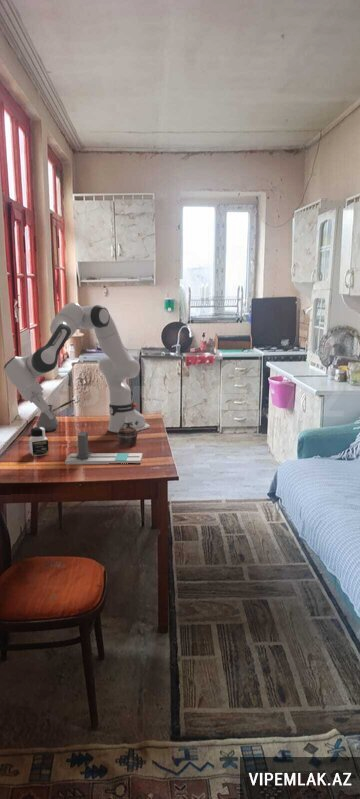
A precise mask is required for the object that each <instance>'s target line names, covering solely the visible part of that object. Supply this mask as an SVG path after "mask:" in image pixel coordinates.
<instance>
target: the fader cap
mask: <svg viewBox="0 0 360 799" xmlns="http://www.w3.org/2000/svg"><path fill="white" fill-rule="evenodd" d="M88 433H89V431H80V432H79V433H78V435H77V447H78V452H77V454H78V455H77V456H76V459H88V458H89V456H90V455H91V453H92V451H90V450H89V434H88Z"/></svg>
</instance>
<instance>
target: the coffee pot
mask: <svg viewBox="0 0 360 799" xmlns="http://www.w3.org/2000/svg"><path fill="white" fill-rule="evenodd" d="M72 402H74V403H77V401H76V400H75V399H74V398H73V399H71V400H69V401H67V402H64V403H63V404H62V405H59V406H57V407H56V408H54V409H53V407H54V404H48V406H49V407H50V409H49V411H50V412H51V414H52V415H53V417H54V418H53V419H50V418H49V417H48V416H47V415H46V414H45V412H44V413H42V412H41V411H40V415H39V418H38V420H37V423H36V427H43V428H44V429H45V432H51V431H55V430H56V429H57V428H58V426H59V425H60V422H59V420H58V419H57V416H56V415H55V413H54V412H55V411H57V410H59V409H60V408H63V407H66V406H68V405H69V404H71V403H72Z"/></svg>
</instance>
